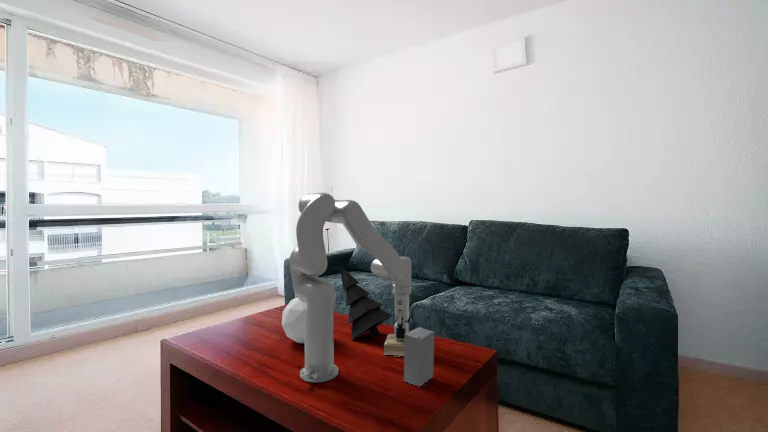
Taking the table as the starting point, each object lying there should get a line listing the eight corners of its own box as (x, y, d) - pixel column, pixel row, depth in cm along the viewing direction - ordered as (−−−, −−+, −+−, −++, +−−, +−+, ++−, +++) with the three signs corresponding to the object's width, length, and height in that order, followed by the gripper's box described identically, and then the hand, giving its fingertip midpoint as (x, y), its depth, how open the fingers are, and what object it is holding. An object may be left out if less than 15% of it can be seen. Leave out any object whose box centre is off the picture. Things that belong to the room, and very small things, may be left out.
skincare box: (417, 373, 121) (417, 325, 121) (435, 379, 117) (435, 330, 116) (402, 382, 115) (402, 332, 114) (421, 389, 110) (421, 337, 110)
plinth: (416, 357, 134) (416, 345, 134) (384, 355, 136) (384, 344, 135) (417, 345, 146) (417, 334, 146) (388, 343, 147) (388, 333, 147)
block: (407, 339, 138) (407, 326, 137) (394, 339, 138) (394, 326, 138) (408, 335, 143) (408, 322, 142) (395, 334, 143) (395, 322, 143)
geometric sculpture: (294, 361, 147) (262, 323, 144) (317, 328, 165) (289, 295, 162) (325, 346, 138) (292, 306, 136) (346, 313, 156) (317, 278, 153)
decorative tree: (375, 338, 162) (340, 270, 173) (398, 324, 155) (360, 254, 166) (354, 349, 150) (318, 275, 161) (378, 334, 143) (339, 258, 154)
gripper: (409, 294, 131) (409, 344, 131) (412, 284, 148) (412, 329, 148) (388, 293, 132) (388, 343, 133) (394, 284, 149) (394, 328, 149)
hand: (401, 335), depth 140 cm, fingers closed on block, 5 cm apart
